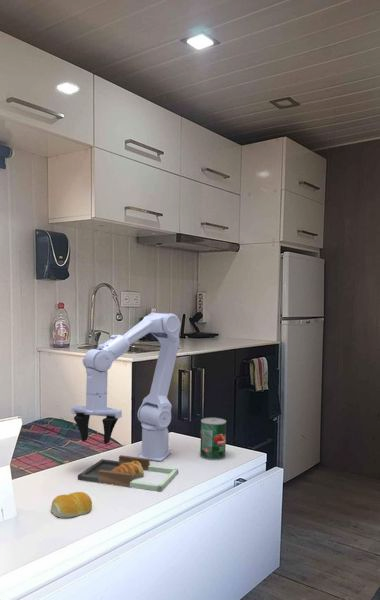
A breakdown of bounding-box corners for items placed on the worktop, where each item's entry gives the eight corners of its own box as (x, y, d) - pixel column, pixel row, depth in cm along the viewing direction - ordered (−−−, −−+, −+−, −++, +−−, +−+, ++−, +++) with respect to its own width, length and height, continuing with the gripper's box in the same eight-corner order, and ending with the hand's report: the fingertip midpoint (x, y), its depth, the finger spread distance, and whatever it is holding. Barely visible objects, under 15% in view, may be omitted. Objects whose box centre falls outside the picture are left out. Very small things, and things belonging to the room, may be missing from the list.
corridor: (120, 465, 143) (120, 455, 143) (149, 469, 140) (149, 458, 140) (98, 482, 130) (98, 471, 130) (129, 487, 127) (130, 475, 127)
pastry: (115, 485, 129) (116, 470, 129) (103, 477, 134) (103, 463, 134) (145, 477, 135) (146, 463, 135) (132, 470, 140) (132, 457, 140)
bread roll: (98, 512, 113) (98, 494, 113) (61, 522, 107) (61, 504, 107) (81, 499, 119) (81, 483, 119) (45, 509, 113) (46, 491, 113)
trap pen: (101, 463, 145) (101, 459, 145) (120, 465, 143) (120, 461, 143) (77, 479, 131) (77, 475, 131) (98, 482, 130) (98, 478, 130)
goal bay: (149, 469, 140) (149, 465, 140) (178, 472, 138) (178, 468, 138) (129, 487, 127) (129, 482, 127) (160, 491, 125) (161, 486, 125)
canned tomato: (225, 460, 149) (225, 424, 149) (199, 459, 150) (199, 423, 150) (225, 452, 157) (226, 418, 157) (201, 451, 158) (201, 417, 158)
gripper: (66, 393, 136) (65, 442, 136) (114, 397, 132) (113, 448, 132) (78, 388, 142) (77, 436, 142) (125, 392, 138) (124, 441, 138)
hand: (95, 441), depth 137 cm, fingers open, 6 cm apart
